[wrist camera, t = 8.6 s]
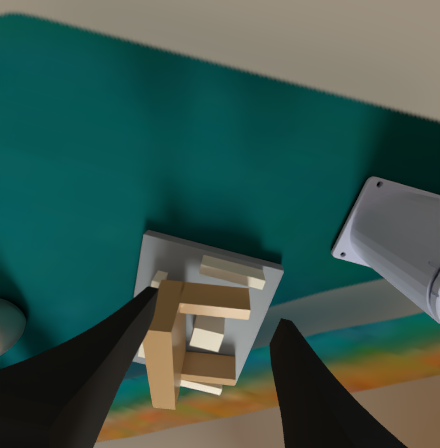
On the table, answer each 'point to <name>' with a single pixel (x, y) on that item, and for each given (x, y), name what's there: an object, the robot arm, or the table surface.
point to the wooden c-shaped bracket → (176, 337)
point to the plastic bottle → (10, 325)
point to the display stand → (215, 275)
